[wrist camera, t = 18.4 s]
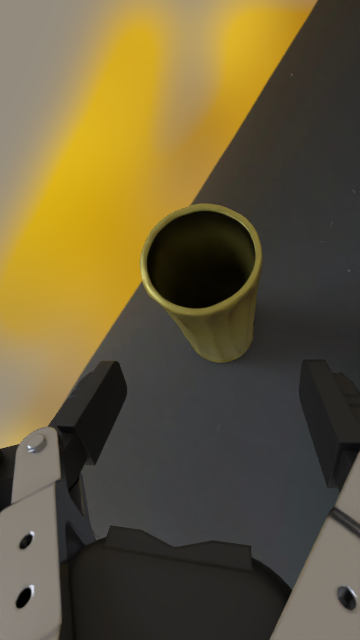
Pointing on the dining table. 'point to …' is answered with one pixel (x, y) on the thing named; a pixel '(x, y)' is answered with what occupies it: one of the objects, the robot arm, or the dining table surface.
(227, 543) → the robot arm
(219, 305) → the vase
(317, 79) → the dining table surface
